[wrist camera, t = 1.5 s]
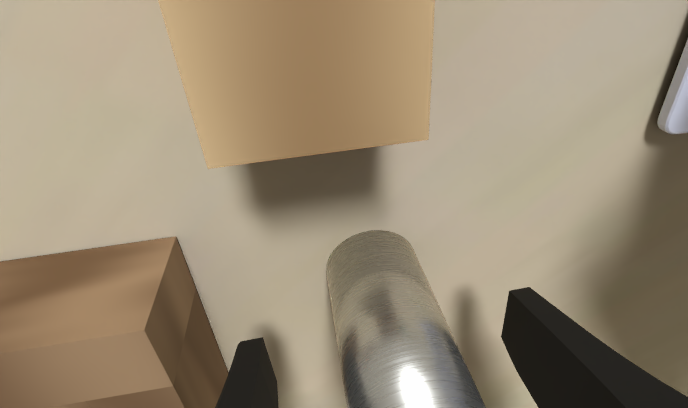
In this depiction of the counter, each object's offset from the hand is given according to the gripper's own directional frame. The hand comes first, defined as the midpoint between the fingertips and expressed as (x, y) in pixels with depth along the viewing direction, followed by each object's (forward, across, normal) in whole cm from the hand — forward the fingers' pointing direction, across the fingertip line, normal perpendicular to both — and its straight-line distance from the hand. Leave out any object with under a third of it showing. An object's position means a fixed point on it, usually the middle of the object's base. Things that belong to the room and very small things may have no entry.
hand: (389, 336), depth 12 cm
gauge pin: (+3, 0, 0) cm, 3 cm away
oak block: (+3, +1, -9) cm, 9 cm away
